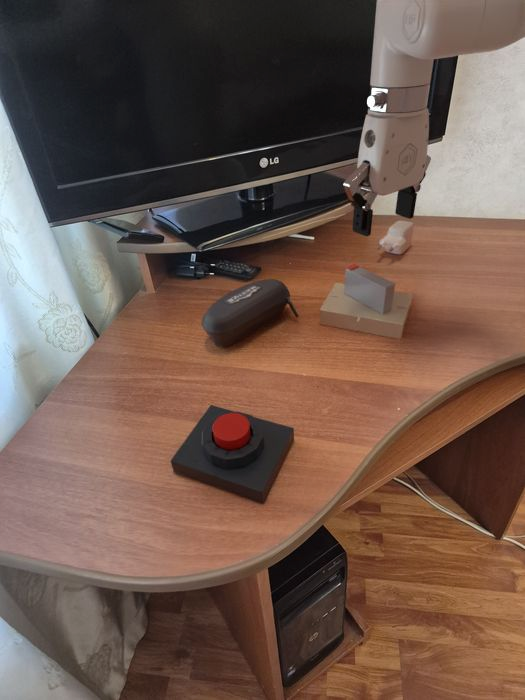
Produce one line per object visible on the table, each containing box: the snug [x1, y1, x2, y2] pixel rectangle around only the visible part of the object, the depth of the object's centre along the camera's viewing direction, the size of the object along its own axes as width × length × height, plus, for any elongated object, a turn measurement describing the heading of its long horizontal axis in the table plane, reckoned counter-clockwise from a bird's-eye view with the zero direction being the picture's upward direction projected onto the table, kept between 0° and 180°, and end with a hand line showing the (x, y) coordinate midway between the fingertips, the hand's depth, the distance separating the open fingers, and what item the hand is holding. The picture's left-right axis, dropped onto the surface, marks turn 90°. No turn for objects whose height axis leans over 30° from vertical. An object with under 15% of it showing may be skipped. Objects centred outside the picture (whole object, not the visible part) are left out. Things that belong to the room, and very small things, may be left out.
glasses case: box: [201, 278, 299, 348], centre depth 75 cm, size 18×10×8 cm, turn 135°
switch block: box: [170, 404, 295, 504], centre depth 54 cm, size 12×10×4 cm
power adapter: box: [376, 219, 414, 255], centre depth 94 cm, size 11×5×6 cm, turn 143°
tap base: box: [318, 282, 414, 340], centre depth 77 cm, size 14×13×3 cm
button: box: [213, 413, 251, 450], centre depth 52 cm, size 4×4×2 cm
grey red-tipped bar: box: [344, 263, 396, 314], centre depth 74 cm, size 9×2×5 cm, turn 36°
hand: (383, 224), depth 68 cm, fingers open, 9 cm apart
